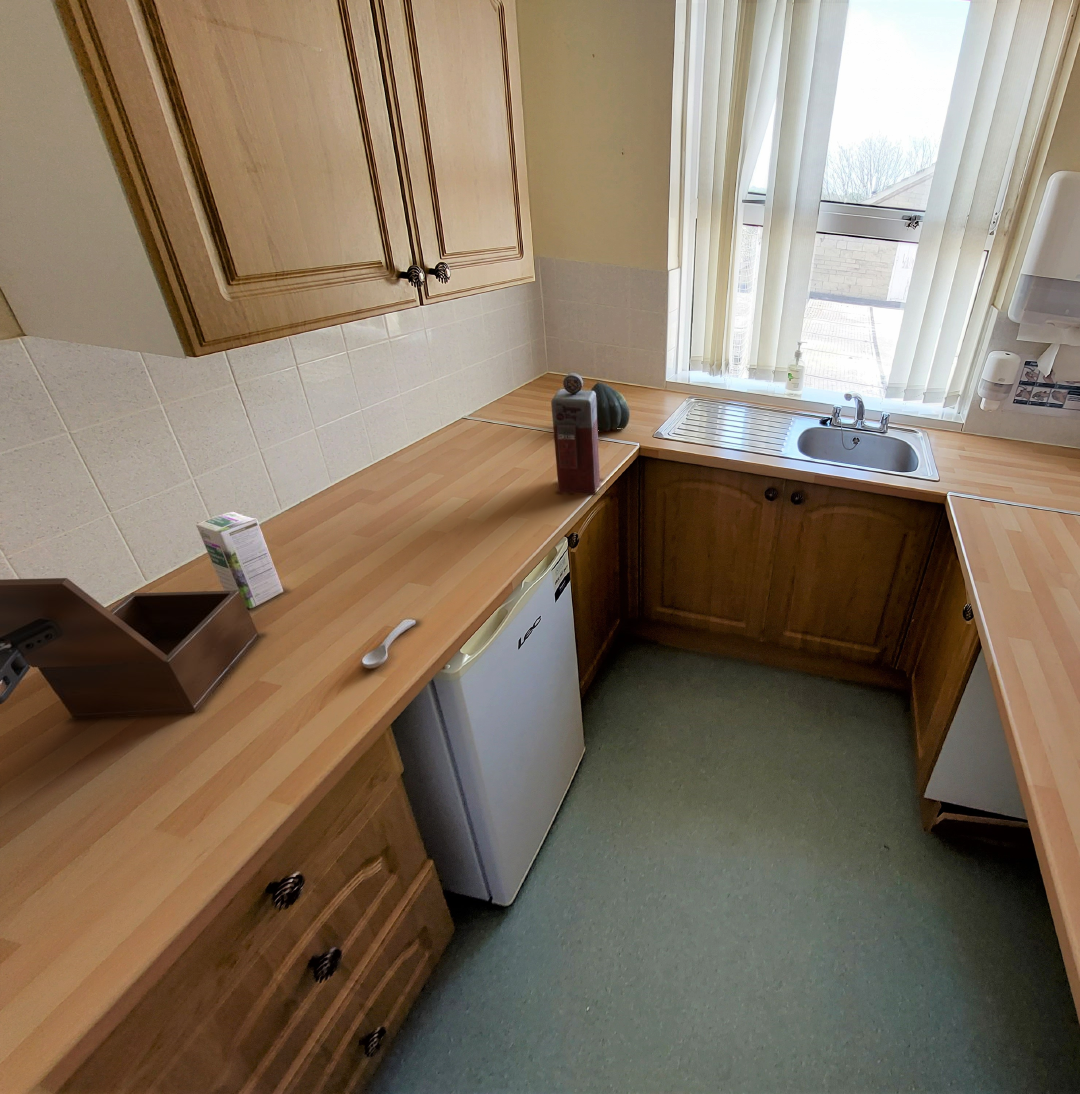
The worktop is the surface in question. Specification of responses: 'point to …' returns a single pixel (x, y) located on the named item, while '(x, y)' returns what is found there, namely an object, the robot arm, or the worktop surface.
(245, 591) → the syrup box
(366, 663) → the spoon
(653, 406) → the worktop surface
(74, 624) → the lid
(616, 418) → the squash
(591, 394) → the vintage gas pump
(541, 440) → the worktop surface
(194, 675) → the walnut box
